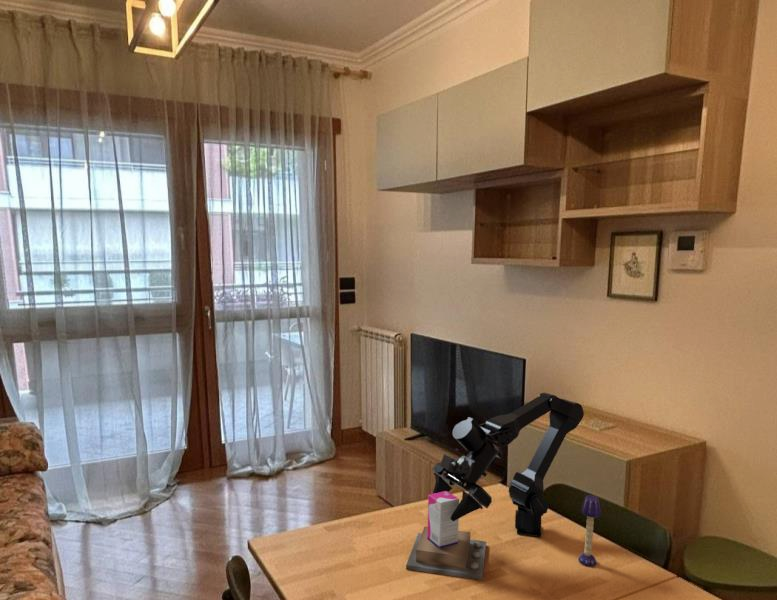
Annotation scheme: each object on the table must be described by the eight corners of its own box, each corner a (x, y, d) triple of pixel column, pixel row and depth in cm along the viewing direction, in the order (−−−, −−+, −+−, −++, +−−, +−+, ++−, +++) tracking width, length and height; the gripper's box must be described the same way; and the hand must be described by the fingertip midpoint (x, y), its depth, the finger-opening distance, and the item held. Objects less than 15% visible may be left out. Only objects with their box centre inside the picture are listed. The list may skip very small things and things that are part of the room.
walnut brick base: (486, 545, 140) (486, 530, 140) (482, 580, 124) (482, 563, 124) (418, 536, 144) (418, 521, 144) (406, 569, 129) (406, 552, 128)
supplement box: (459, 543, 133) (459, 498, 132) (439, 549, 130) (439, 503, 129) (445, 533, 138) (446, 489, 137) (426, 538, 135) (427, 494, 134)
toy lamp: (598, 559, 134) (601, 494, 132) (599, 569, 129) (601, 502, 128) (578, 556, 135) (580, 491, 134) (578, 565, 131) (580, 499, 130)
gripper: (438, 432, 143) (402, 480, 138) (483, 454, 126) (443, 510, 122) (462, 456, 147) (427, 504, 143) (508, 481, 131) (470, 535, 126)
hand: (440, 512), depth 133 cm, fingers open, 9 cm apart
